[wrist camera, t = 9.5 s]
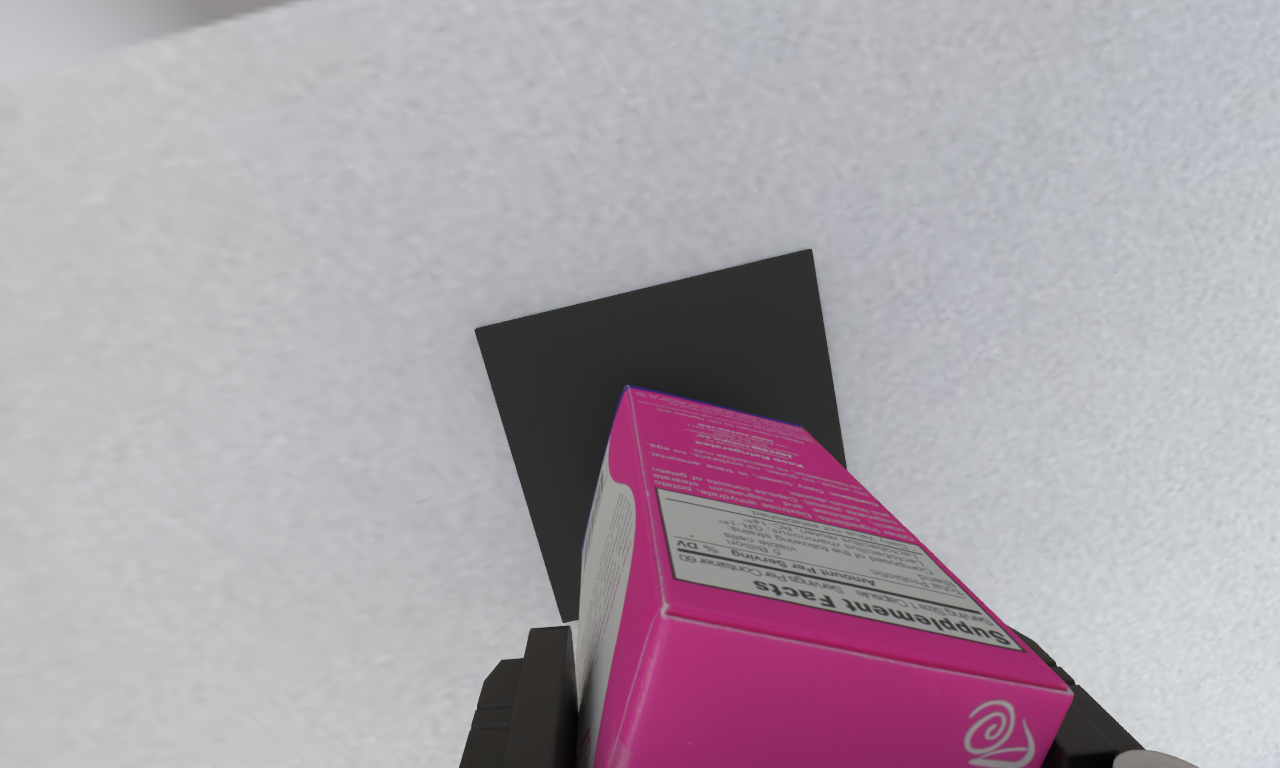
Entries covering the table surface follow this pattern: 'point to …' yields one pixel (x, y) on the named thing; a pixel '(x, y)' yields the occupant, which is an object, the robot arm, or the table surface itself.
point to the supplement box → (781, 614)
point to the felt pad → (652, 380)
